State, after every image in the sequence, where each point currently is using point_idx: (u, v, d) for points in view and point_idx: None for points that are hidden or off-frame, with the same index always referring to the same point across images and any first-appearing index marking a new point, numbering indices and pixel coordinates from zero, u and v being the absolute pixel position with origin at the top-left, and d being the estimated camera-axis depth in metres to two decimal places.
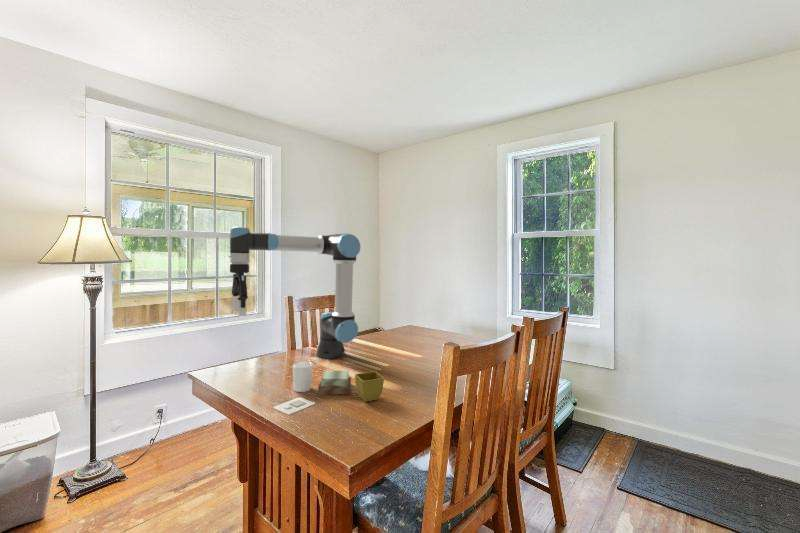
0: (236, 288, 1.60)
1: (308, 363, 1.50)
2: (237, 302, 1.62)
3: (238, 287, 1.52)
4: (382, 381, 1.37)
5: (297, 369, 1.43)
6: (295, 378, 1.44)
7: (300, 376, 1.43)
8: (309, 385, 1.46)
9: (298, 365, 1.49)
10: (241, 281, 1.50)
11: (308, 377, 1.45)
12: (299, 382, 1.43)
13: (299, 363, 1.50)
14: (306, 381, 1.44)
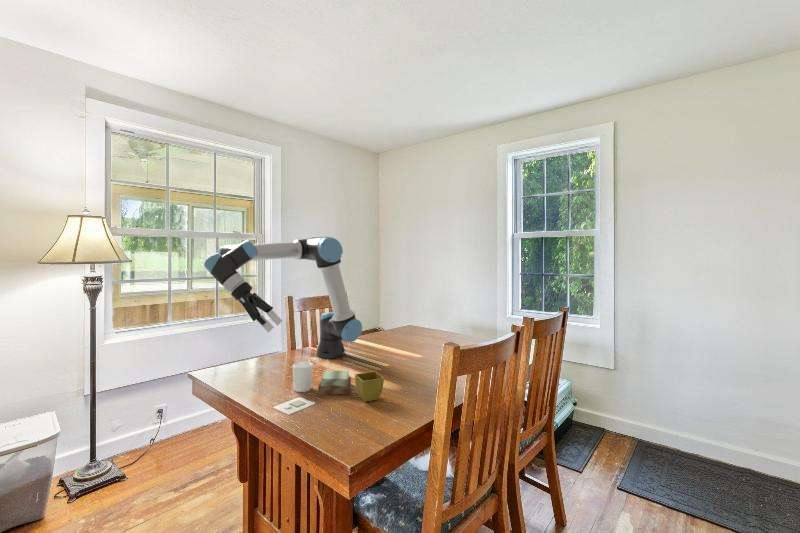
0: (260, 306, 1.49)
1: (308, 363, 1.50)
2: (274, 316, 1.52)
3: None
4: (382, 381, 1.37)
5: (297, 369, 1.43)
6: (295, 378, 1.44)
7: (300, 376, 1.43)
8: (309, 385, 1.46)
9: (298, 365, 1.49)
10: (243, 303, 1.37)
11: (308, 377, 1.45)
12: (299, 382, 1.43)
13: (299, 363, 1.50)
14: (306, 381, 1.44)
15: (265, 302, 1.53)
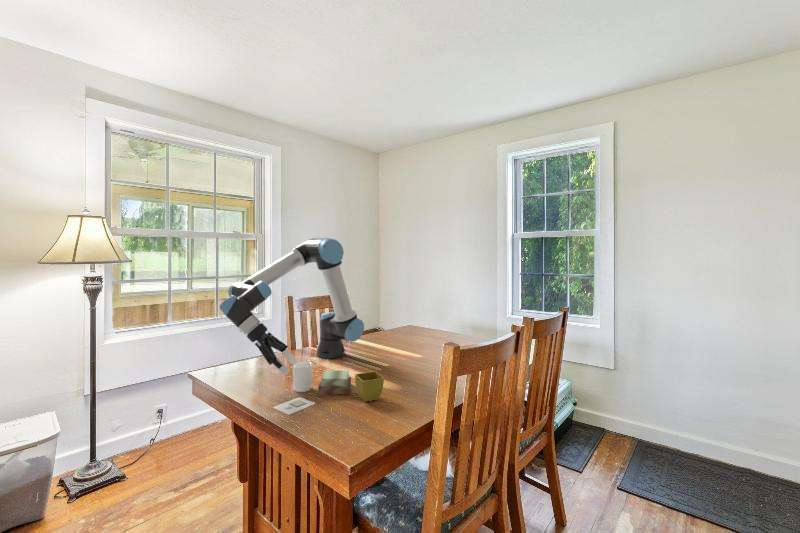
0: (275, 346, 1.49)
1: (308, 363, 1.50)
2: (289, 355, 1.52)
3: None
4: (382, 381, 1.37)
5: (297, 369, 1.43)
6: (295, 378, 1.44)
7: (300, 376, 1.43)
8: (309, 385, 1.46)
9: (298, 365, 1.49)
10: (259, 347, 1.37)
11: (308, 377, 1.45)
12: (299, 382, 1.43)
13: (299, 363, 1.50)
14: (306, 381, 1.44)
15: (280, 341, 1.53)
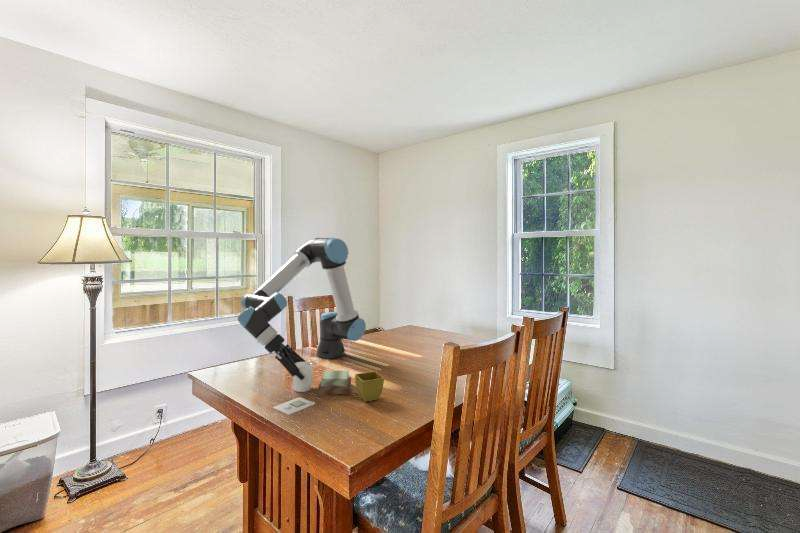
0: (292, 359, 1.49)
1: (308, 363, 1.50)
2: None
3: None
4: (382, 381, 1.37)
5: None
6: (295, 378, 1.44)
7: None
8: (309, 385, 1.46)
9: (298, 365, 1.49)
10: (280, 360, 1.40)
11: (308, 377, 1.45)
12: (299, 382, 1.43)
13: (299, 363, 1.50)
14: None
15: (297, 354, 1.53)
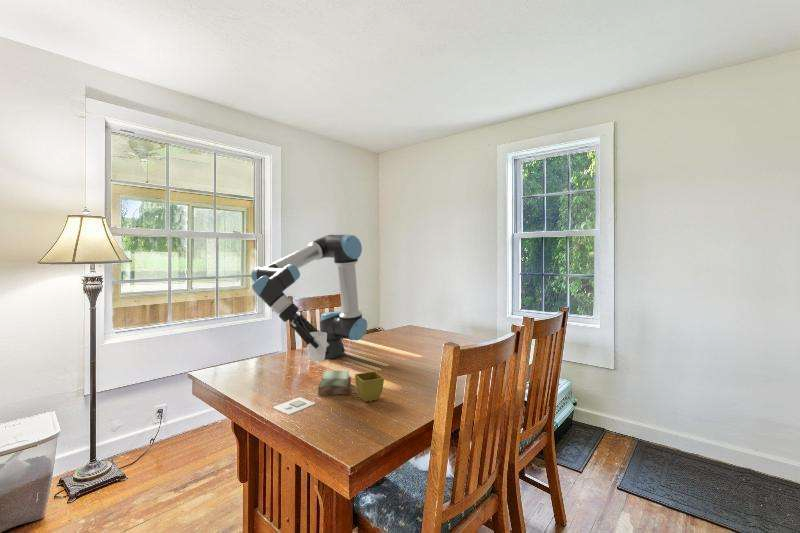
0: (307, 329, 1.49)
1: (322, 333, 1.49)
2: None
3: None
4: (382, 381, 1.37)
5: None
6: (309, 347, 1.43)
7: None
8: (323, 354, 1.45)
9: (312, 335, 1.49)
10: (295, 328, 1.39)
11: None
12: (313, 351, 1.43)
13: (313, 333, 1.49)
14: None
15: (311, 325, 1.52)
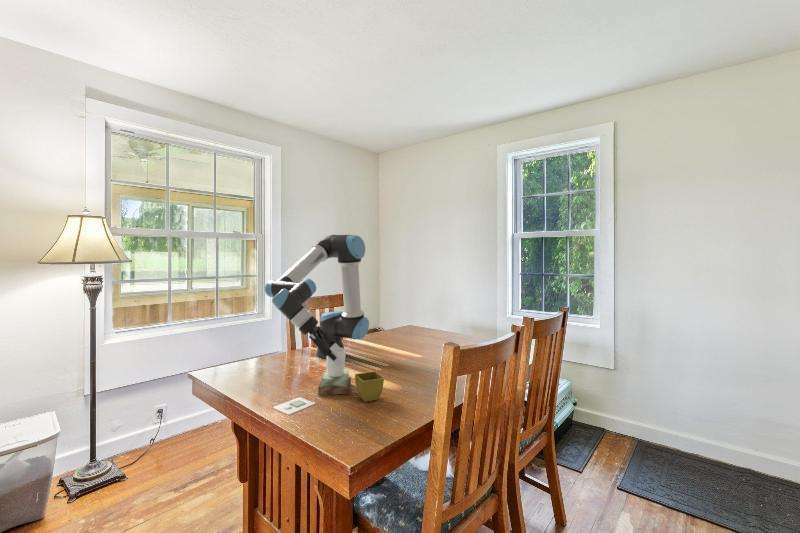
0: (325, 340, 1.51)
1: (340, 349, 1.51)
2: None
3: None
4: (382, 381, 1.37)
5: None
6: (329, 363, 1.45)
7: None
8: (342, 370, 1.47)
9: None
10: (314, 340, 1.40)
11: None
12: (333, 367, 1.44)
13: (331, 349, 1.51)
14: (340, 366, 1.45)
15: (328, 335, 1.55)
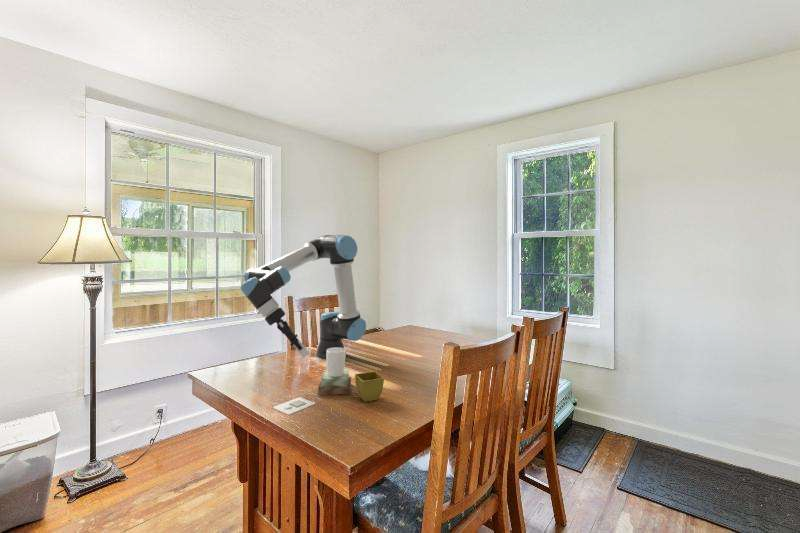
0: None
1: (340, 349, 1.51)
2: None
3: None
4: (382, 381, 1.37)
5: (331, 354, 1.44)
6: (329, 363, 1.45)
7: (334, 361, 1.44)
8: (342, 370, 1.47)
9: (331, 351, 1.50)
10: (282, 328, 1.39)
11: (342, 362, 1.46)
12: (333, 367, 1.44)
13: (332, 349, 1.51)
14: (340, 366, 1.45)
15: None
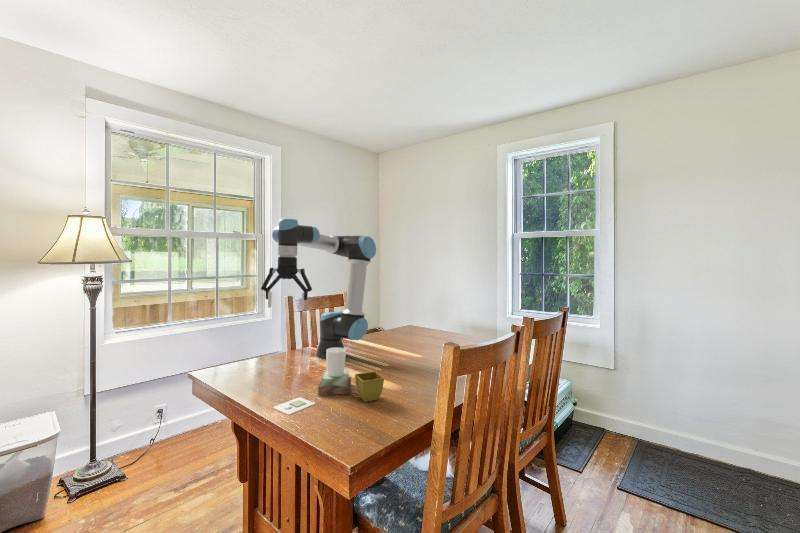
0: (275, 283, 1.51)
1: (340, 349, 1.51)
2: (271, 298, 1.52)
3: (297, 280, 1.51)
4: (382, 381, 1.37)
5: (331, 353, 1.44)
6: (329, 363, 1.45)
7: (334, 361, 1.44)
8: (342, 370, 1.47)
9: (331, 351, 1.50)
10: (304, 274, 1.51)
11: (342, 362, 1.46)
12: (333, 367, 1.44)
13: (332, 349, 1.51)
14: (340, 366, 1.45)
15: None
